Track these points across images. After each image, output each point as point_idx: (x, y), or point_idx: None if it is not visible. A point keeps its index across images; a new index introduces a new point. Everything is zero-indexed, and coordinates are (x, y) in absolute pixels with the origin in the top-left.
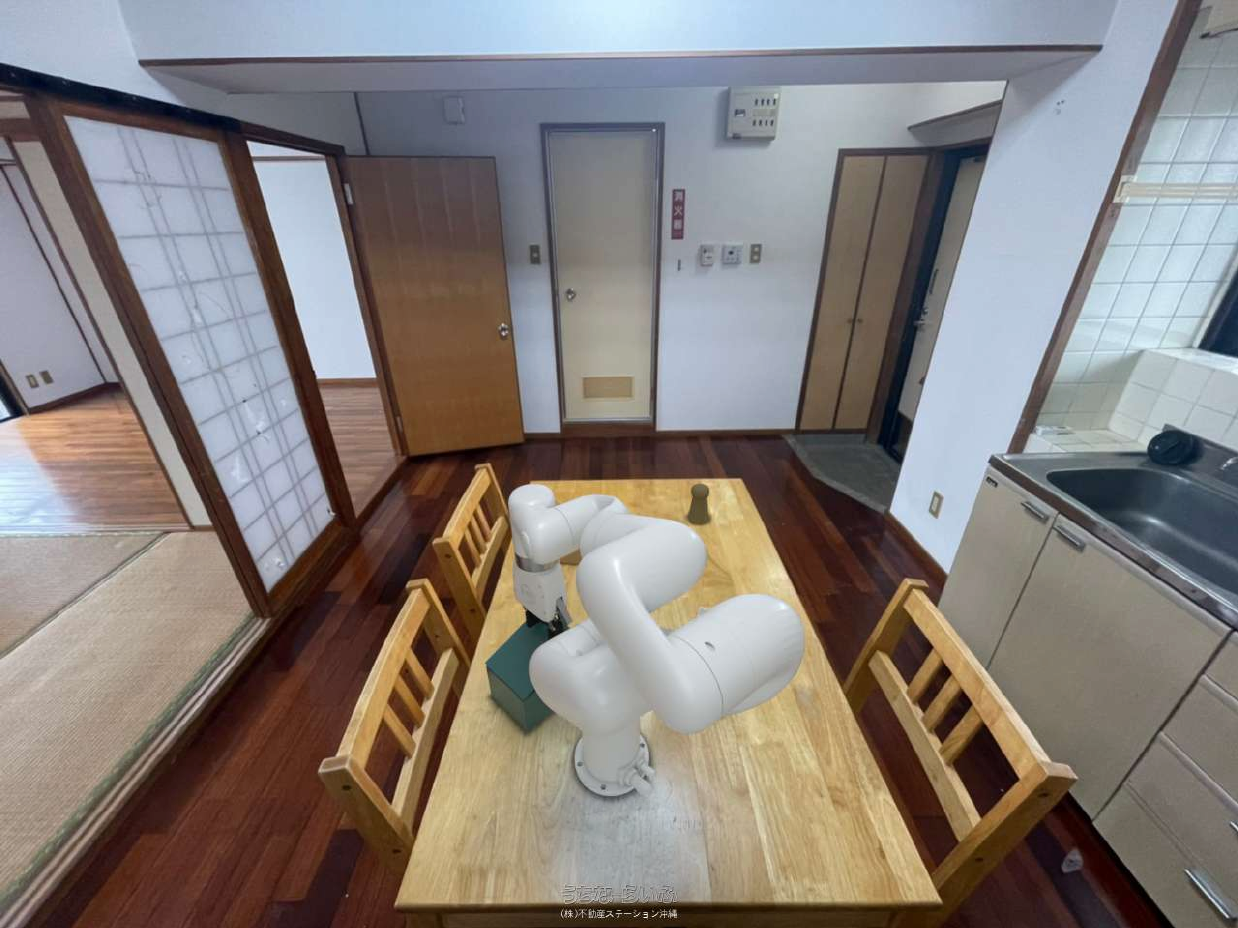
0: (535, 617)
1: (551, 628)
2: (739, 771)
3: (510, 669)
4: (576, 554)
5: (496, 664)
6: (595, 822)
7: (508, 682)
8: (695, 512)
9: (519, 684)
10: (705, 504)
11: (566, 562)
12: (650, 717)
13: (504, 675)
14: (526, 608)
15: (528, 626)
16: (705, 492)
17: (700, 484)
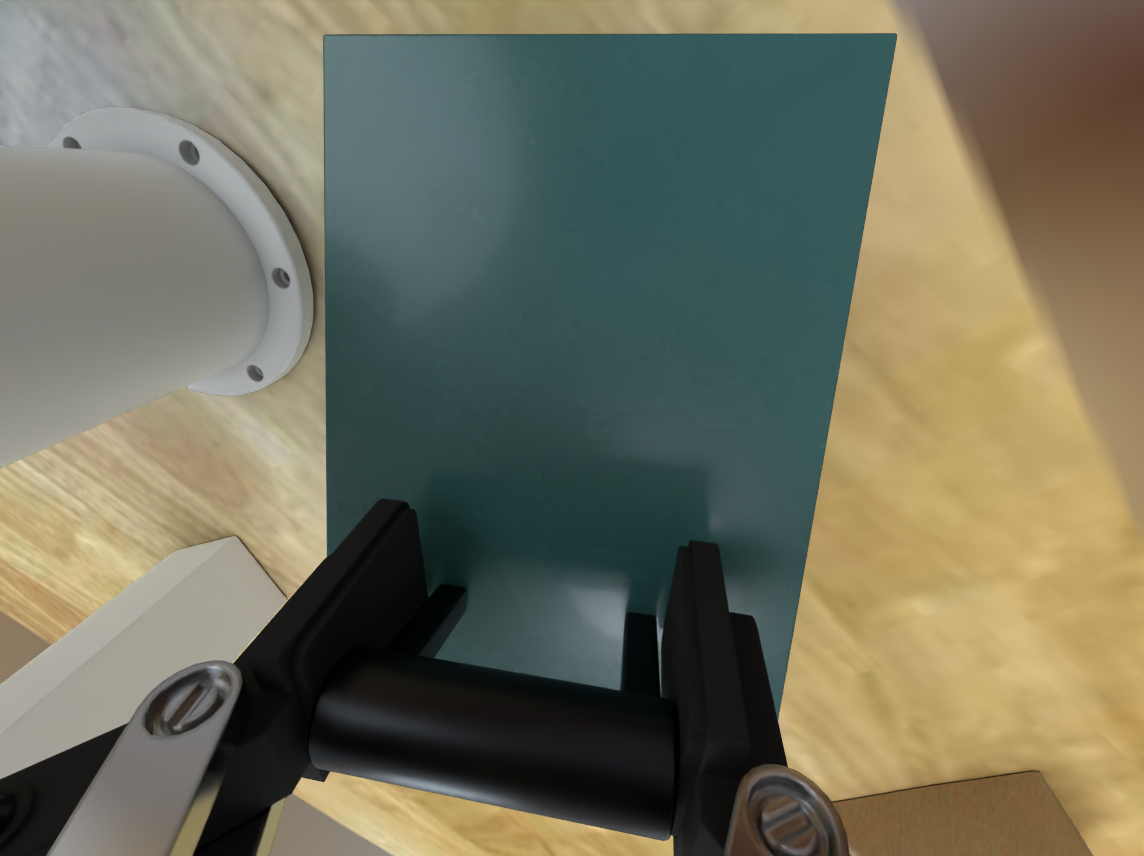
0: (670, 664)
1: (208, 695)
2: (29, 456)
3: (596, 154)
4: (936, 842)
5: (760, 102)
6: (9, 31)
7: (523, 55)
8: None
9: (429, 109)
10: None
11: (961, 786)
12: (258, 453)
13: (606, 77)
14: (737, 817)
15: (692, 550)
16: None
17: None
